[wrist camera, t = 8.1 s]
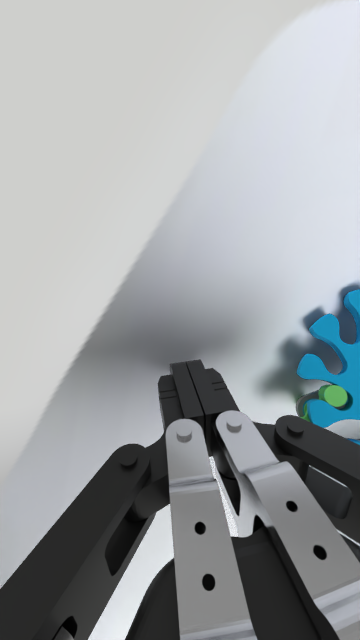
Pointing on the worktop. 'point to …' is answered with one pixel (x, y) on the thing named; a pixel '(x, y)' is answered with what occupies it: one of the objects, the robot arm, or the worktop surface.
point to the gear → (348, 386)
